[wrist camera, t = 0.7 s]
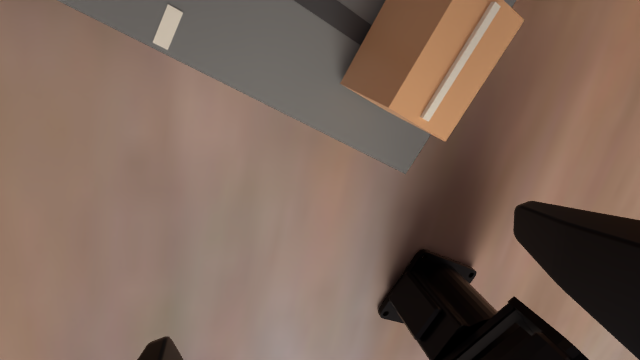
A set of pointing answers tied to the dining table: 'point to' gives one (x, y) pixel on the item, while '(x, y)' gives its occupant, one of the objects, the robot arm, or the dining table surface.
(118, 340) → the dining table surface
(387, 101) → the orange fader
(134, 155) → the dining table surface
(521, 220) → the robot arm
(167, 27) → the console board
